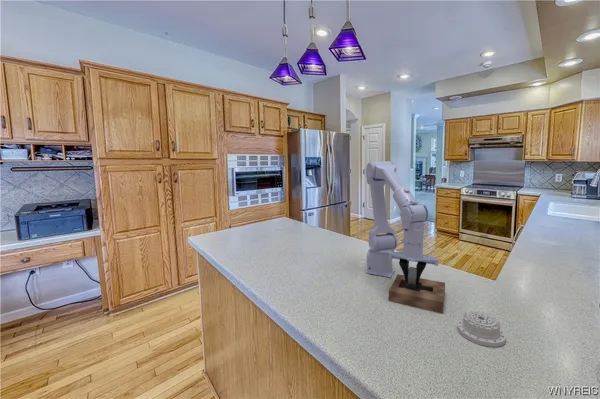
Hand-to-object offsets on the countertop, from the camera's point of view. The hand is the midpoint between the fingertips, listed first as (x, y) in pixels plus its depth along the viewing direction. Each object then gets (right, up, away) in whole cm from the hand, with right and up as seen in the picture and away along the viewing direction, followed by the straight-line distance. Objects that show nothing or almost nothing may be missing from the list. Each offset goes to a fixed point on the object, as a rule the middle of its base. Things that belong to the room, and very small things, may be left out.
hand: (412, 282), depth 84 cm
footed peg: (0, -4, +1) cm, 4 cm away
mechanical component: (+9, -7, -19) cm, 22 cm away
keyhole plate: (+2, -4, 0) cm, 5 cm away
